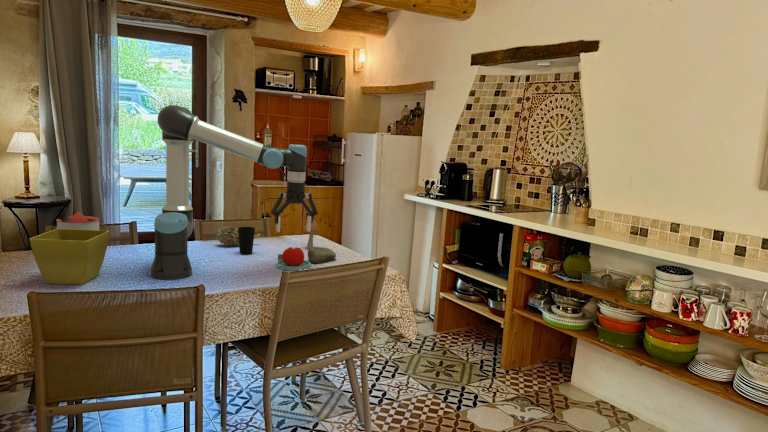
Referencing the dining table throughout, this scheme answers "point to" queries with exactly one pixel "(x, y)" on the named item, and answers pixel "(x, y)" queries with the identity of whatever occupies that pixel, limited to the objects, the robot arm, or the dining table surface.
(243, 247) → the cup
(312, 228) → the mushroom
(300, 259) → the tomato
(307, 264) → the dish
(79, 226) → the citrus juicer
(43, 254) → the flower pot
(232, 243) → the pine cone
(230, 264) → the dining table surface
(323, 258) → the stone
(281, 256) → the rail
